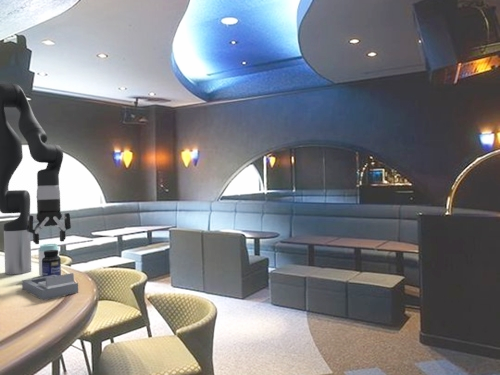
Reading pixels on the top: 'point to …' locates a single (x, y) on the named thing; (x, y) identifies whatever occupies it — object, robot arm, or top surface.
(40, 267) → the can
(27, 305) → the top surface
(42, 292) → the socket plate
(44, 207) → the robot arm
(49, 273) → the pill bottle
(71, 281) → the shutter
